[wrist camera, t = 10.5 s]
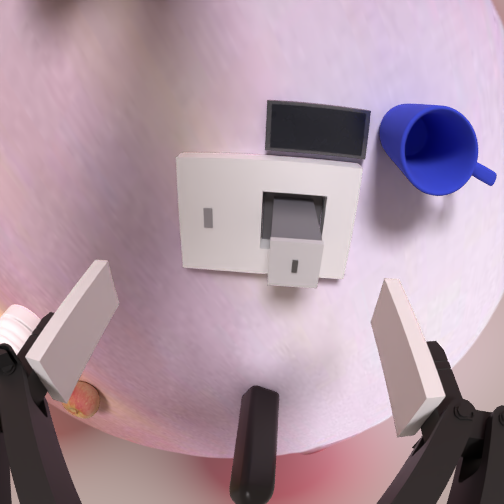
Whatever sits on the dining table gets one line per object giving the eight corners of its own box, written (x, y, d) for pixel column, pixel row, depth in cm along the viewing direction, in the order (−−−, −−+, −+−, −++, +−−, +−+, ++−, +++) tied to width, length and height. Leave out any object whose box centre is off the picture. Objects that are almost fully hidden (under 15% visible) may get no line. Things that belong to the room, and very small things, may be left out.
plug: (273, 195, 37) (270, 241, 28) (313, 198, 37) (324, 245, 27) (271, 231, 40) (267, 286, 30) (309, 234, 39) (316, 289, 30)
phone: (267, 99, 32) (267, 100, 31) (368, 110, 31) (370, 111, 30) (265, 148, 35) (265, 150, 34) (362, 157, 34) (365, 159, 33)
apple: (65, 371, 61) (50, 397, 54) (96, 377, 60) (82, 406, 53) (79, 394, 65) (67, 419, 58) (109, 401, 65) (98, 427, 58)
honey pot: (24, 346, 59) (-13, 402, 44) (-1, 302, 53) (-47, 358, 38) (62, 353, 58) (24, 418, 42) (36, 306, 52) (-14, 371, 36)
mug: (445, 186, 35) (484, 220, 26) (361, 152, 34) (387, 178, 25) (467, 128, 30) (515, 147, 22) (383, 86, 30) (418, 90, 21)
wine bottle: (266, 406, 58) (253, 551, 32) (240, 397, 57) (218, 546, 32) (281, 392, 56) (272, 549, 30) (253, 383, 55) (234, 544, 29)
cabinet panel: (182, 152, 36) (175, 157, 33) (357, 163, 35) (363, 169, 32) (187, 257, 43) (182, 268, 40) (340, 268, 42) (343, 279, 39)
